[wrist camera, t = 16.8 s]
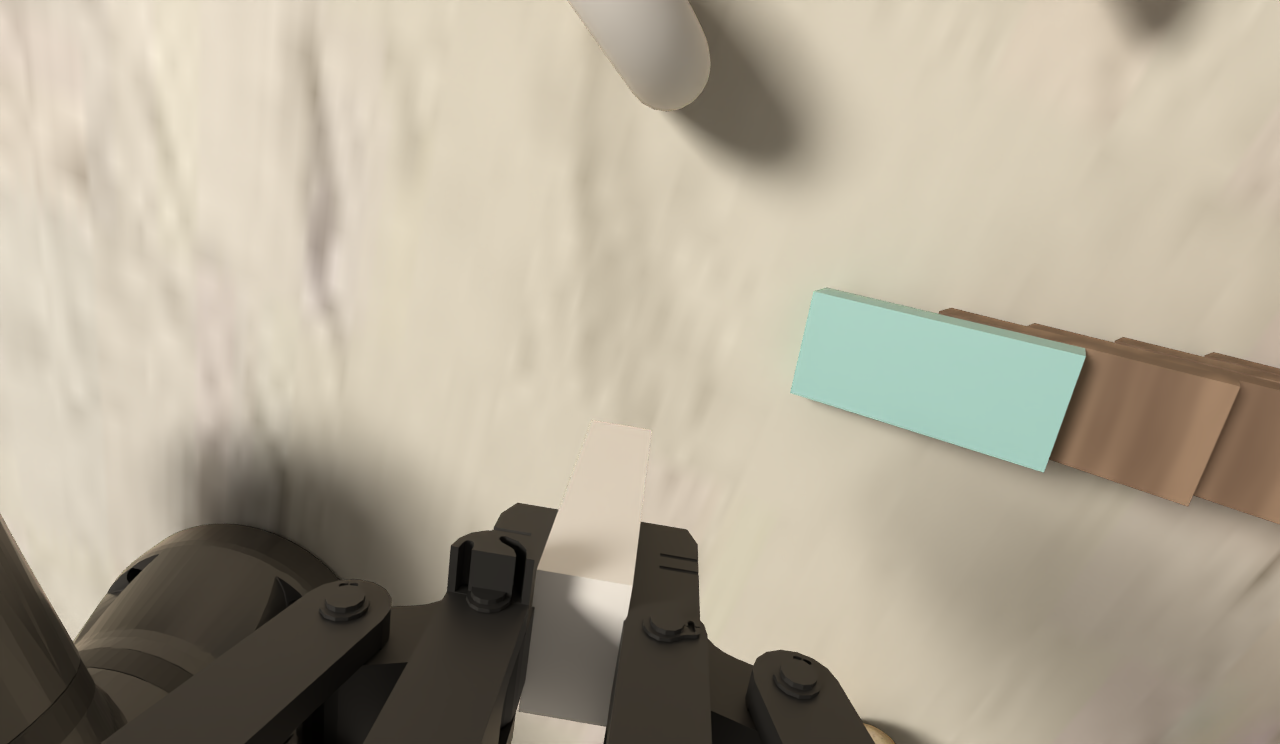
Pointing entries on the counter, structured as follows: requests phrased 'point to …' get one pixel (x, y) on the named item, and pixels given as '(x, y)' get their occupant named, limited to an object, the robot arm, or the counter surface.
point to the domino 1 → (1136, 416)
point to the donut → (651, 47)
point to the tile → (938, 375)
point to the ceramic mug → (878, 735)
